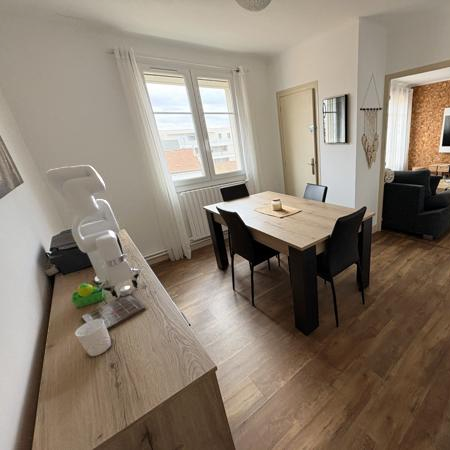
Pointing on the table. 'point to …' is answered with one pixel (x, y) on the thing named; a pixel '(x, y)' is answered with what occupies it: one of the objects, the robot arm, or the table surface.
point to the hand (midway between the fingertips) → (126, 291)
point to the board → (116, 311)
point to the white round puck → (125, 290)
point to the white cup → (94, 337)
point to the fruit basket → (87, 295)
